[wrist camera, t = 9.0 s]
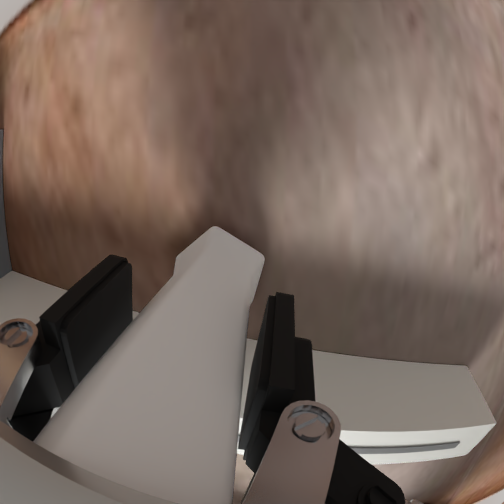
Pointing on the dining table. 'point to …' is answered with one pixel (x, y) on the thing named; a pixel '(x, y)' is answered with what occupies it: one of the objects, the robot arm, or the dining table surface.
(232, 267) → the white faceted vase
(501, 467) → the dining table surface
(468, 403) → the guide fence
